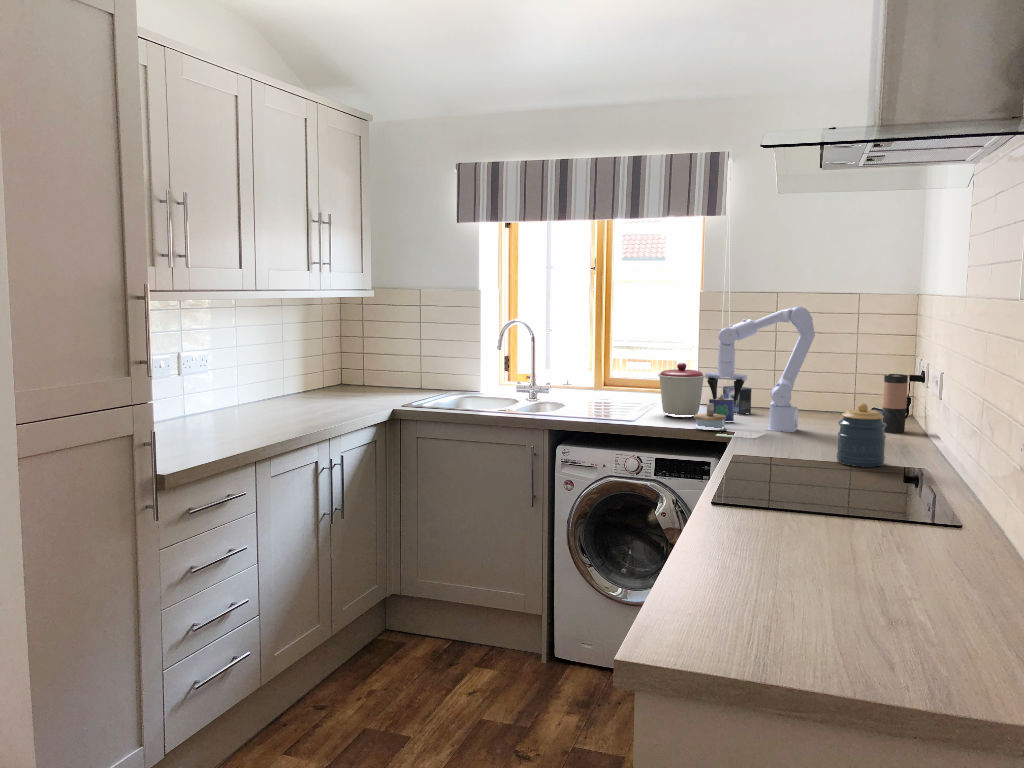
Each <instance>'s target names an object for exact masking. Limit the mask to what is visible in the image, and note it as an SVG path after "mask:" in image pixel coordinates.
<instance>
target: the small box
mask: <svg viewBox="0 0 1024 768" xmlns="http://www.w3.org/2000/svg"><path fill="white" fill-rule="evenodd" d="M722 394H723V395H724V399H734V384H733V385H725V386H722ZM734 413H737V414H746V413H751V414H752V387H745V386H742V388H741V390H740V393H739V396H738V400H737V401H734ZM746 415H747V414H746Z"/></svg>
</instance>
